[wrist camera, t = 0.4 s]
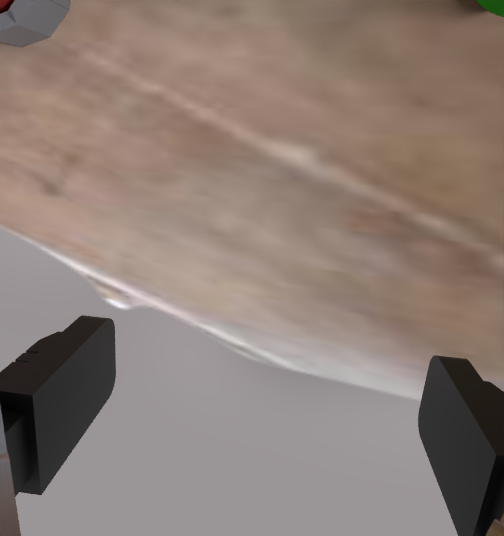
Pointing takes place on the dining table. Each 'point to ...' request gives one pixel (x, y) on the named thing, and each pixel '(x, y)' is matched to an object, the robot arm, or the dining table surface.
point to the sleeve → (31, 20)
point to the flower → (493, 6)
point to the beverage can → (5, 5)
